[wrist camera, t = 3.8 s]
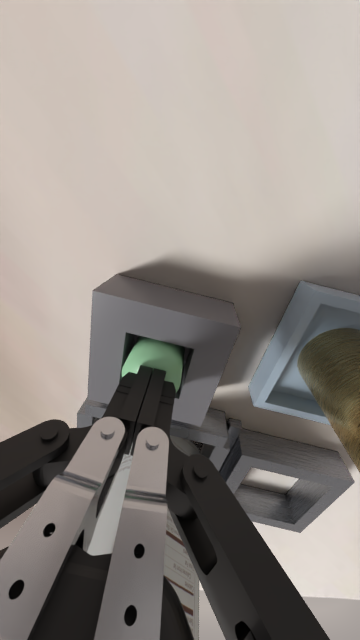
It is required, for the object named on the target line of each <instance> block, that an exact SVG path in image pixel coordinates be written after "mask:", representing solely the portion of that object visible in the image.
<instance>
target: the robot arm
mask: <svg viewBox="0 0 360 640" xmlns="http://www.w3.org/2000/svg"><path fill="white" fill-rule="evenodd" d="M152 372H153V373H152ZM165 375H166V371H164V370H159V369H155V368H154V370H153V368H151V367H147V366H143V365H140V367H139V370H138V372H137V374H136V373H132V372H128V373H127V374H126V375H124V376H123V377H122V379H121V381H120V383H119V385H118V387H117V389H116V391H115V393H114V395H113V397H112V399H111V401H110V403H109V405H108V407H107V409H106V411H105V413H104V415H103V416H102V418H101V419H99V420H98V421H96V422H95V423H94V424H93V425H91V426H88V427H83V428H69V427H68V425H67V424H66V423H65V422H64V421H61V420H48V421H45V422H43V423H41V424H39V425H36V426H34V427H32V428H30V429H28V430H26V431H24V432H22V433H19V434H17V435H15V436H13V437H11V438H9V439H7V440H5V441H2V442H0V528H2V527H3V526H5V525H6V524H8V523H9V522H10V521H12V520H13V519H15V518H16V517H18V516H19V515H21V514H22V513H23V512H25V511H26V510H28V509H29V508H31V507H32V506H34V505H35V504H36V503H37V504H36V506H35V507H34V509H33V511H32V512H31V513H30V515H29V517H28V518H27V520H26V521H25V523H24V524H23V526H22V527H21V529H20V531H19V532H18V534H17V535H16V537H15V538H14V540H13V541H12V543H11V545H10V546H9V547H6V548H5V549H2V550H1V551H0V640H194V637H193V634H192V632H191V629H190V626H189V623H188V620H187V617H186V614H185V611H184V609H183V606H182V604H181V601H180V599H179V597H178V595H177V593H176V591H175V590H174V588H173V587H172V585H171V584H170V582H169V581H168V580H167V578H166V577H165V576H164V558H165V541H166V525H167V508H168V509H169V511H170V515H171V517H172V519H173V522H174V524H175V526H176V528H177V531H178V533H179V535H180V537H181V540H182V542H183V544H184V546H185V549H186V551H187V553H188V555H189V558H190V560H191V562H192V564H193V567H194V569H195V571H196V573H197V576H198V578H199V580H200V582H201V585H202V587H203V589H204V591H205V593H206V596H207V598H208V600H209V602H210V605H211V607H212V609H213V612H214V614H215V616H216V618H217V621H218V623H219V625H220V627H221V630H222V632H223V634H224V636H225V639H226V640H330V639H329V638H328V636H327V634H326V633H325V631H324V630H323V629H322V627H321V626H320V624H319V622H318V621H317V619H316V618H315V616H314V615H313V613H312V612H311V610H310V609H309V608H308V606H307V605H306V603H305V601H304V600H303V598H302V597H301V595H300V594H299V592H298V591H297V589H296V588H295V586H294V585H293V583H292V582H291V580H290V579H289V577H288V576H287V574H286V573H285V571H284V570H283V568H282V567H281V565H280V564H279V562H278V561H277V559H276V558H275V556H274V555H273V553H272V552H271V550H270V549H269V547H268V546H267V544H266V543H265V541H264V540H263V538H262V537H261V535H260V534H259V532H258V531H257V529H256V528H255V526H254V525H253V523H252V522H251V520H250V519H249V517H248V515H247V514H246V512H245V511H244V509H243V508H242V506H241V505H240V503H239V502H238V500H237V499H236V497H235V496H234V494H233V493H232V491H231V490H230V488H229V487H228V485H227V484H226V482H225V481H224V479H223V478H222V476H221V475H220V473H219V472H218V470H217V469H216V467H215V466H214V464H213V463H212V462H211V461H210V460H209V459H208V458H207V457H205V456H204V455H201V454H193V455H190V456H188V455H186V454H184V453H183V452H181V451H180V450H178V449H177V448H176V447H175V446H174V445H173V443H172V441H171V439H170V426H171V419H172V413H173V406H174V399H175V393H176V389H175V386H174V383H173V382H169V381H165ZM132 443H133V444H132ZM131 446H132V449H131ZM130 449H131V454H130V455H131V456H133V458H132V463H131V468H130V472H129V477H128V482H127V486H126V491H125V496H124V500H123V505H122V510H121V514H120V519H119V524H118V529H117V533H116V538H115V543H114V547H113V552H112V553H110V554H103V555H94V556H93V555H90V554H88V553H87V551H88V548H89V546H90V543H91V540H92V537H93V534H94V531H95V527H96V524H97V522H98V519H99V516H100V514H101V511H102V509H103V507H104V504H105V502H106V499H107V497H108V494H109V492H110V489H111V487H112V485H113V482H114V480H115V477H116V475H117V472H118V469H119V467H120V465H121V461H122V458H123V455H124V454H127V455H129V453H130Z"/></svg>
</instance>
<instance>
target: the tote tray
mask: <svg viewBox="0 0 360 640" xmlns="http://www.w3.org/2000/svg"><path fill="white" fill-rule="evenodd" d="M338 328H353V329H358V330H360V295H356V294H352V293H348V292H344V291H340V290H336V289H332V288H328V287H324V286H320V285H316V284H312V283H308V282H304V281H300V283H299V285H298V287H297V289H296V291H295V293H294V295H293V297H292V299H291V301H290V303H289V305H288V307H287V309H286V311H285V313H284V315H283V317H282V319H281V321H280V324H279V326H278V328H277V330H276V332H275V334H274V336H273V338H272V340H271V342H270V344H269V346H268V348H267V350H266V352H265V354H264V356H263V358H262V360H261V362H260V364H259V366H258V368H257V370H256V372H255V374H254V376H253V378H252V380H251V382H250V384H249V386H248V387H249V391H250V395H251V399H252V402H253V406H255V407H259V408H263V409H267V410H271V411H275V412H279V413H283V414H287V415H292V416H296V417H300V418H304V419H308V420H312V421H316V422H320V423H324V424H328V425H331V424H330V423H329V421H328V419H327V418H326V416H325V414H324V413H323V411H322V409H321V408H320V406H319V405H318V403H317V401H316V400H315V398H314V396H313V395H312V393H311V391H310V390H309V388H308V386H307V385H306V383H305V381H304V380H303V378H302V377H301V375H300V373H299V371H298V367H297V361H298V357H299V354H300V352H301V350H302V349H303V347H304V346H305V345H306V344H307V343H308V342H309V341H310V340H311V339H313V338H314V337H316V336H317V335H319V334H321V333H323V332H326V331H329V330H333V329H338Z"/></svg>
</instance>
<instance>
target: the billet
mask: <svg viewBox="0 0 360 640" xmlns="http://www.w3.org/2000/svg"><path fill="white" fill-rule="evenodd" d="M297 367H298V371H299V373H300V375H301V377H302V378H303V380H304V381H305V383H306V385H307V386H308V388H309V390H310V391H311V393H312V395H313V396H314V398H315V400H316V401H317V403H318V405H319V406H320V408H321V409H322V411H323V413H324V414H325V416H326V418H327V419H328V421H329V423H330V424H331V426H332V428H333V429H334V431H335V432H336V434H337V436H338V437H339V439H340V441H341V442H342V444H343V446H344V447H345V449H346V451H347V452H348V454H349V456H350V457H351V459H352V460H353V462H354V464H355V465H356V467H357V469H358V470H359V472H360V330H358V329H353V328H338V329H333V330H329V331H326V332H323V333H321V334H319V335H317V336H316V337H314V338H313V339H311V340H310V341H309V342H308V343H307V344H306V345H305V346H304V347H303V349H302V350H301V352H300V354H299V357H298V361H297Z"/></svg>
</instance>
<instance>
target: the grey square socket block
mask: <svg viewBox="0 0 360 640" xmlns="http://www.w3.org/2000/svg"><path fill="white" fill-rule="evenodd" d="M240 329H241V326H240V323H239V320H238V317H237V314H236V311H235V308H234V305H233V303H230V302H226V301H222V300H218V299H214V298H210V297H206V296H202V295H198V294H194V293H190V292H186V291H182V290H178V289H174V288H170V287H166V286H162V285H158V284H154V283H150V282H146V281H142V280H138V279H134V278H130V277H126V276H122V275H118V274H116V275H115V276H113V277H112V278H110V279H109V280H107V281H106V282H104V283H103V284H101V285H100V286H99V287H97V288H96V289H94V290H93V294H92V315H91V336H90V357H89V378H88V399H89V400H93V401H97V402H101V403H105V404H109V403H110V401H111V399H112V397H113V395H114V393H115V391H116V389H117V387H118V385H119V383H120V381H121V379H122V368H123V366H124V364H125V362H126V360H127V358H128V356H129V354H130V352H131V350H132V349H133V347H134V345H135V343H136V341H137V339H138V337H139V336H143V337H147V338H151V339H155V340H159V341H163V342H168V343H172V344H176V345H180V346H184V347H185V354H184V362H183V369H182V377H181V384H180V387H179V389H178V391H177V392H176V393H175V399H174V406H173V413H172V420H176V421H180V422H184V423H188V424H192V425H197V426H201V425H202V423H203V420H204V418H205V415H206V413H207V410H208V408H209V405H210V403H211V400H212V398H213V396H214V393H215V391H216V388H217V386H218V383H219V381H220V378H221V376H222V373H223V371H224V368H225V366H226V364H227V361H228V359H229V356H230V354H231V351H232V349H233V346H234V344H235V341H236V339H237V336H238V334H239V332H240Z"/></svg>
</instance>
